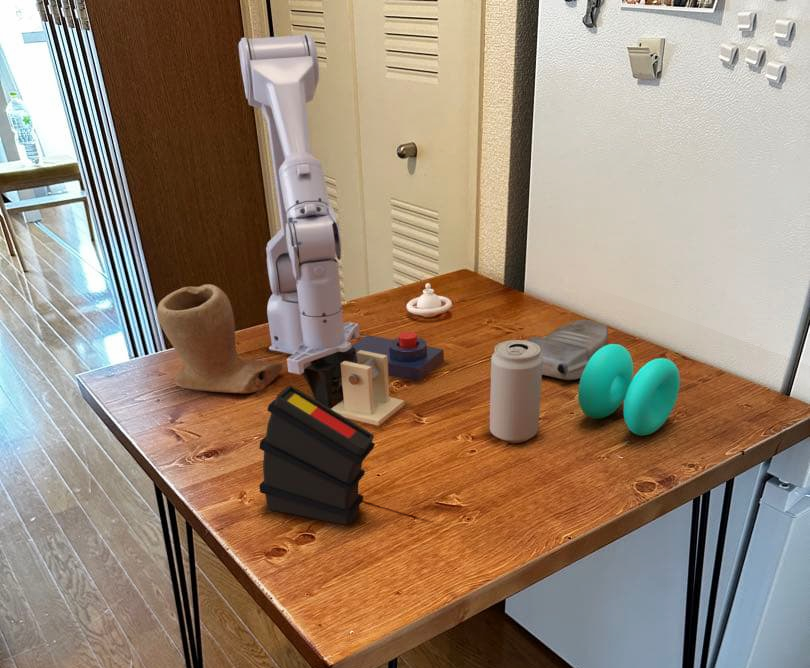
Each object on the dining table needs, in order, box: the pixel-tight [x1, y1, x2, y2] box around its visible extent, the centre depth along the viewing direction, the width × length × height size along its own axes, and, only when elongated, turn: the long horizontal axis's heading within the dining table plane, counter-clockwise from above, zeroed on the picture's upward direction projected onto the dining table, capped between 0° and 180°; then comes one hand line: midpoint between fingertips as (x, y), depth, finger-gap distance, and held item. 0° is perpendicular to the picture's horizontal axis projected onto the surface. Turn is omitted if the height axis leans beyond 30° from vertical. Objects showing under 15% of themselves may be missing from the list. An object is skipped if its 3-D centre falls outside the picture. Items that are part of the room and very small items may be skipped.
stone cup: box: [156, 283, 284, 394], centre depth 117 cm, size 15×12×15 cm
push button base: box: [351, 334, 445, 382], centre depth 124 cm, size 14×8×4 cm, turn 60°
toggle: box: [332, 358, 380, 397], centre depth 112 cm, size 10×3×3 cm, turn 60°
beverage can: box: [489, 339, 543, 444], centre depth 103 cm, size 6×6×12 cm
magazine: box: [258, 384, 376, 526], centre depth 90 cm, size 4×13×15 cm, turn 68°
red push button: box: [397, 331, 418, 348], centre depth 122 cm, size 3×3×2 cm
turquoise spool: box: [577, 343, 681, 436], centre depth 104 cm, size 10×10×10 cm
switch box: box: [330, 350, 405, 427], centre depth 111 cm, size 8×7×8 cm
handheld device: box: [527, 319, 609, 381], centre depth 123 cm, size 10×20×5 cm, turn 146°
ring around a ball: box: [406, 282, 453, 318], centre depth 140 cm, size 8×6×8 cm
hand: (330, 401), depth 116 cm, fingers closed on toggle, 3 cm apart
